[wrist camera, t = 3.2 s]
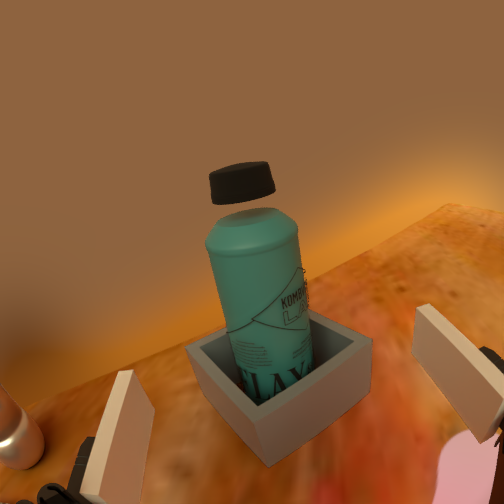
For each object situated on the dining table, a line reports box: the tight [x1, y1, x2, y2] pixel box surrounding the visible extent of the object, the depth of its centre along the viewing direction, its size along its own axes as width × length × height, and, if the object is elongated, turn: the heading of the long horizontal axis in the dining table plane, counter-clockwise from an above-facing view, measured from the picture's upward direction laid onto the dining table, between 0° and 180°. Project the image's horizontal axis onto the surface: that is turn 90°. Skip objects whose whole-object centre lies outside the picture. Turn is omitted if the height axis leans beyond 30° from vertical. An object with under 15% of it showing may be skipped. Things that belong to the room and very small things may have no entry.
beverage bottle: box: [205, 161, 316, 406], centre depth 23 cm, size 6×7×20 cm
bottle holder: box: [185, 309, 373, 468], centre depth 25 cm, size 11×11×6 cm
